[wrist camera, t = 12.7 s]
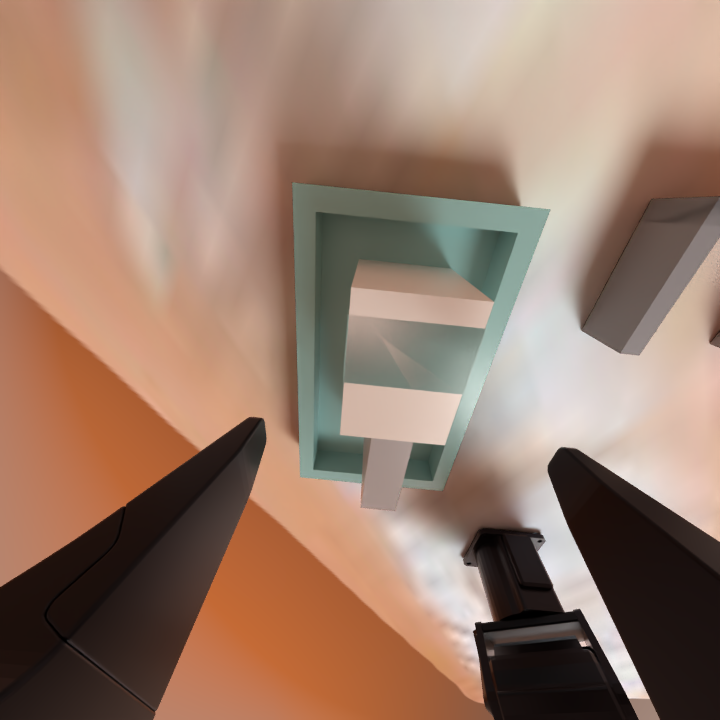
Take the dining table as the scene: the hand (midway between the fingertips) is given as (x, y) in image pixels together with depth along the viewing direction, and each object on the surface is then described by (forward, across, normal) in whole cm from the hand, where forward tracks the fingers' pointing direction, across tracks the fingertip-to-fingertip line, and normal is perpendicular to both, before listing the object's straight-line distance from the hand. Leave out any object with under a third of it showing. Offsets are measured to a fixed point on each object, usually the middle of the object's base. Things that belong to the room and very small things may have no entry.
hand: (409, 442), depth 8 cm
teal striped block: (+9, 0, +3) cm, 10 cm away
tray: (+10, 0, +3) cm, 10 cm away
